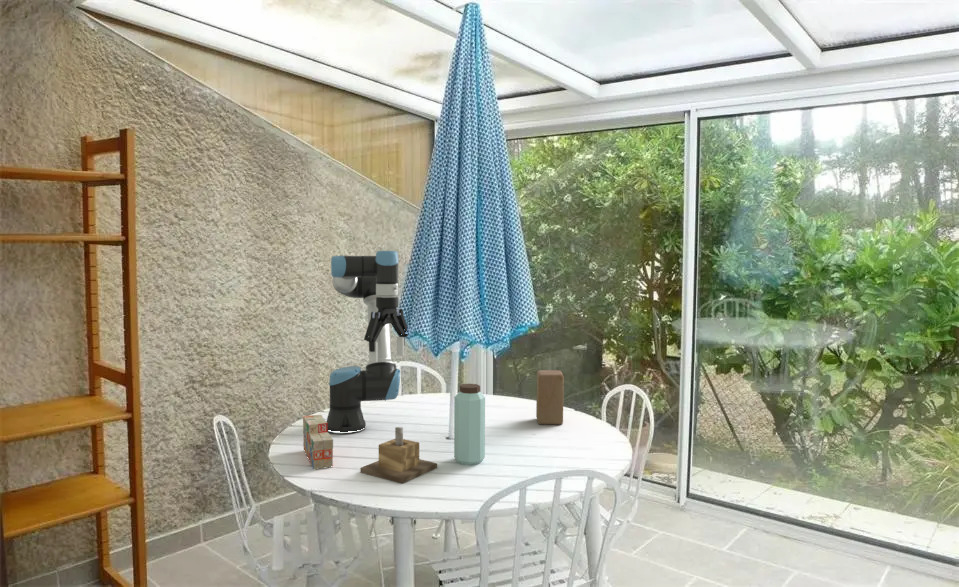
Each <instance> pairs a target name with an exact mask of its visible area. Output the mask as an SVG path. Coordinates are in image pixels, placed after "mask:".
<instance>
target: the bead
mask: <svg viewBox="0 0 959 587" xmlns="http://www.w3.org/2000/svg"><path fill="white" fill-rule="evenodd" d="M419 459H420V442H418V441H414V440H409V439H405V438H403V446H400V447H399V446H395V438H393V439H391V440H388V441H385V442H383V443H382V442H381V443H380V444H378V461H379V467H382V468H386V469H390V470H394V471H398V472H403V471H405V470H407V469H410V468H412V467H414V466H416V465H419Z"/></svg>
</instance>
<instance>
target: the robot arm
mask: <svg viewBox="0 0 959 587" xmlns="http://www.w3.org/2000/svg"><path fill="white" fill-rule="evenodd" d="M399 262H400V261H399V252H398V251H396V250H378V251H376V253H375V255H342V254H341V255H333V256H332V257H331V258H330V269H331V270H330V272H331V274H330V275H331V277H332V282H331V283H332V287H333V289H335V291H336V292H337V293H339V294H340V295H343V296H345V297H348V298H353V299H363V302H362V303H363V304H365V306H366V307H367V308H366V309H367V329H366V332H365V335H364V338H363V339H364V341H366V342H368V352H369V353H368V355H369V362H368V363H367V364H366V365H365V369H364V370H362V368H361V367H360V366H357V365H356V366H345V367H340V368H337V369H334V370H332V371H331V372H330V374H329V381H328V385H329V411H328V414H327V418H326V420H325V421H326V422H327V426H328V430H331V431H340V432H348V431H357V430H361V429H363V428H365V426H366V420H365V419H364V415H363V412H362V407H361V406H362V405H361V404H362V403H361V402H371V401H372V402H374V401H385V402H386V401H390V400H391V401H392V400H396V398H397V397H399V396H398V395H399V390H400V384H401V370H400V369H399V368H397V365H396V363H395V362H394V361H393V360H392V343H391V340H392V339H391V338H392V337H391V326H392V328H393V330H394V331H395V332H396V334H397V336H396V356H398V357H405V345H406V344H405V341H406V338H407V337H408V334H405V332H406V331H407V328H408V325H407V322H406V319H405V316H404V310H403V309H402V308H399V297H398V295H399ZM404 329H405V330H404ZM408 329H409V328H408ZM401 334H402V335H401ZM365 429H366V428H365Z"/></svg>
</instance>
